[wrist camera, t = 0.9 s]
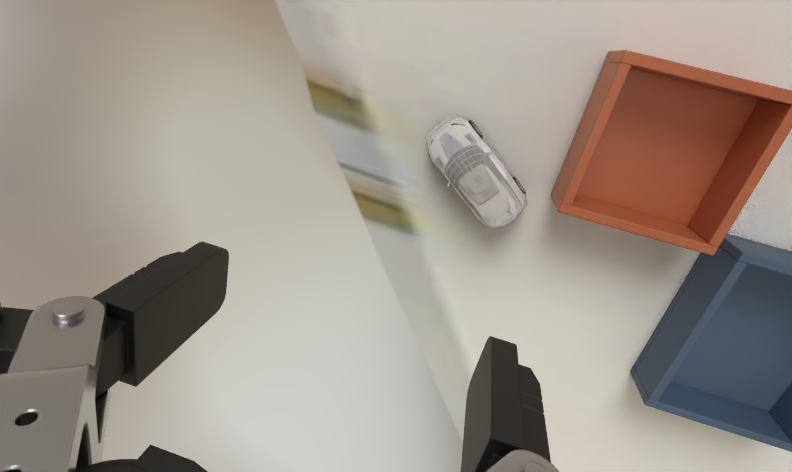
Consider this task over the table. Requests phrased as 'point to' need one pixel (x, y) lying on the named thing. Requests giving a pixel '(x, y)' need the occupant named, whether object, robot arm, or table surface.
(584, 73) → the table surface
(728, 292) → the blue bin
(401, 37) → the table surface
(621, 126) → the terracotta bin
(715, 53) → the table surface
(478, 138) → the toy car
